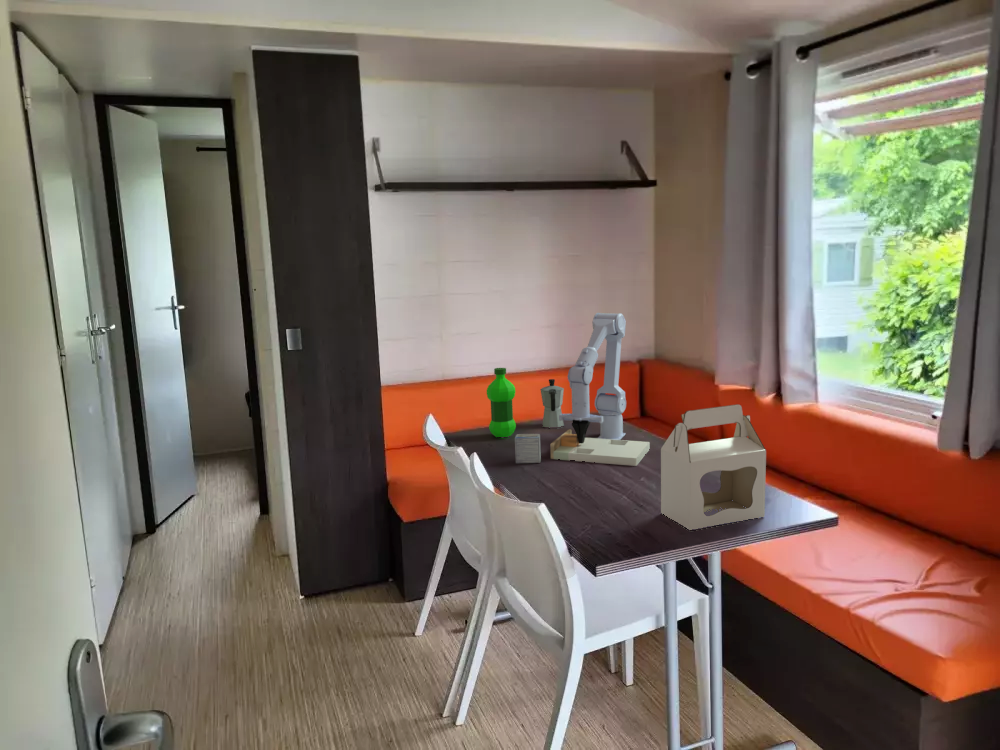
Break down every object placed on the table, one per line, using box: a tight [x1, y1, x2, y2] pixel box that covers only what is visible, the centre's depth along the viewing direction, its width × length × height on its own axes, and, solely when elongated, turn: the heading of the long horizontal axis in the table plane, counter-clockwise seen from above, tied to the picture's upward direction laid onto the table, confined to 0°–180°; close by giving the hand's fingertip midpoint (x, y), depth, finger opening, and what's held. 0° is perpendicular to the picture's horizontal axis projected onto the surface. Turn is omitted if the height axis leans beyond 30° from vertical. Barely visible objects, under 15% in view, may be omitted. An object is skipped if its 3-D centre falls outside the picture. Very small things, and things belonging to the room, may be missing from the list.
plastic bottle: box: [486, 367, 517, 438], centre depth 271 cm, size 10×10×25 cm
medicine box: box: [514, 433, 542, 464], centre depth 241 cm, size 8×4×9 cm, turn 84°
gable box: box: [660, 403, 767, 530], centre depth 188 cm, size 22×13×28 cm, turn 109°
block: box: [561, 433, 580, 447], centre depth 250 cm, size 5×5×3 cm
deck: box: [549, 429, 651, 467], centre depth 246 cm, size 19×28×5 cm
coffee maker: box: [540, 378, 565, 428], centre depth 283 cm, size 15×9×18 cm, turn 178°
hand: (581, 442), depth 249 cm, fingers closed
